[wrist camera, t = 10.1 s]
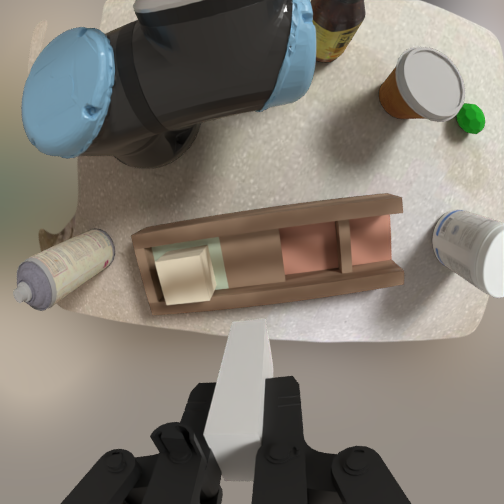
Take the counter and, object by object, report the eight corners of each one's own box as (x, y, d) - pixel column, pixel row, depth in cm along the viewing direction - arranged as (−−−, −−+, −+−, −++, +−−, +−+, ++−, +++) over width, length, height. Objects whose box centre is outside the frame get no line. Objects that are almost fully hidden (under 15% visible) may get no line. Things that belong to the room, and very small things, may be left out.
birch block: (167, 251, 42) (154, 262, 37) (207, 244, 41) (199, 255, 36) (177, 290, 43) (166, 305, 38) (216, 285, 43) (209, 300, 38)
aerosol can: (77, 254, 46) (-1, 300, 27) (89, 221, 44) (3, 256, 25) (107, 275, 47) (34, 333, 28) (120, 242, 45) (41, 290, 26)
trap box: (146, 227, 44) (130, 235, 39) (387, 193, 40) (402, 197, 35) (164, 299, 47) (152, 315, 42) (390, 270, 43) (403, 284, 38)
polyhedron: (453, 133, 36) (470, 132, 32) (449, 103, 35) (465, 99, 31) (475, 135, 36) (492, 134, 31) (471, 106, 35) (487, 103, 30)
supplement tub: (473, 259, 42) (524, 291, 28) (430, 269, 43) (478, 309, 29) (473, 204, 39) (531, 222, 25) (428, 211, 40) (484, 232, 26)
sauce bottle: (334, 70, 36) (377, 8, 17) (293, 53, 35) (307, -22, 16) (349, 37, 34) (394, -32, 15) (310, 20, 34) (330, -60, 15)
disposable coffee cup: (372, 128, 38) (406, 116, 26) (364, 66, 35) (393, 37, 24) (428, 131, 37) (473, 124, 25) (420, 72, 34) (460, 51, 23)
